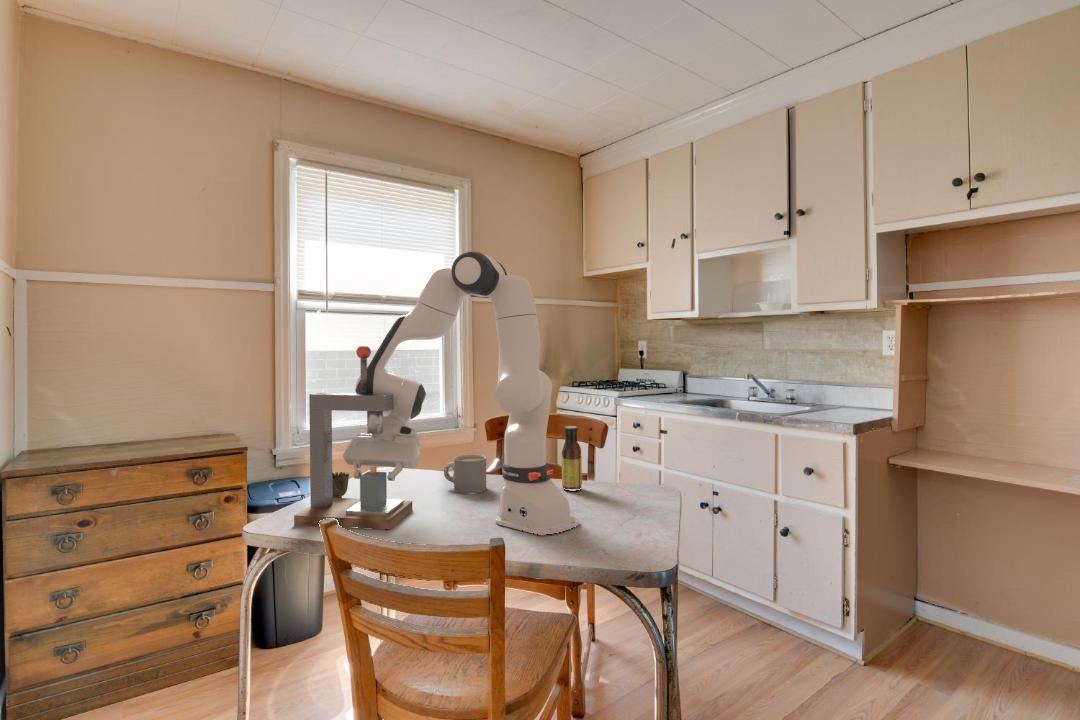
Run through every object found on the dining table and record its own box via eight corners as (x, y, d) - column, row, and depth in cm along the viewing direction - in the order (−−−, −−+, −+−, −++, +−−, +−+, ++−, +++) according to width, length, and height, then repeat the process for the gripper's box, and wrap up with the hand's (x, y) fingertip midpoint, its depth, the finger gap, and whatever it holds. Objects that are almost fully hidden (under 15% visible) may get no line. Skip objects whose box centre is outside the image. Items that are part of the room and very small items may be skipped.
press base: (412, 510, 153) (412, 501, 153) (389, 530, 137) (389, 520, 137) (326, 506, 156) (326, 497, 156) (294, 525, 140) (294, 515, 140)
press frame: (403, 503, 150) (402, 345, 149) (387, 516, 139) (386, 345, 138) (325, 500, 153) (323, 344, 152) (303, 512, 142) (301, 345, 141)
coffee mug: (491, 487, 177) (491, 455, 176) (476, 495, 167) (476, 462, 167) (455, 482, 182) (455, 452, 181) (438, 490, 172) (438, 458, 172)
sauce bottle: (571, 486, 178) (571, 424, 178) (585, 489, 174) (586, 426, 173) (557, 489, 174) (557, 426, 173) (571, 493, 169) (572, 429, 169)
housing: (386, 501, 148) (386, 465, 148) (378, 507, 143) (378, 469, 143) (369, 500, 149) (368, 464, 149) (360, 506, 144) (359, 469, 144)
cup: (340, 506, 155) (339, 478, 155) (316, 505, 157) (316, 477, 157) (354, 499, 163) (353, 472, 162) (331, 497, 164) (331, 470, 164)
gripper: (350, 426, 154) (331, 470, 145) (420, 430, 151) (406, 474, 142) (357, 439, 158) (340, 482, 149) (426, 443, 156) (413, 487, 146)
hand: (373, 478), depth 145 cm, fingers open, 8 cm apart
